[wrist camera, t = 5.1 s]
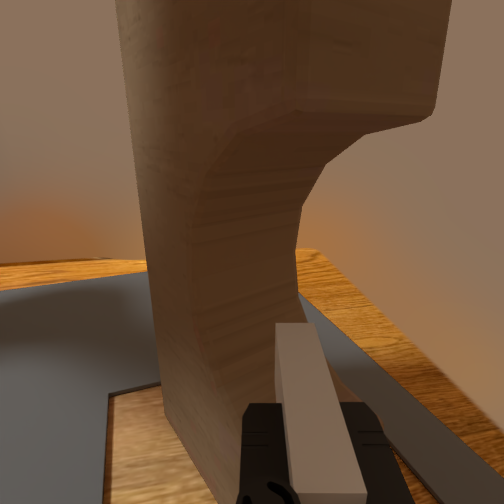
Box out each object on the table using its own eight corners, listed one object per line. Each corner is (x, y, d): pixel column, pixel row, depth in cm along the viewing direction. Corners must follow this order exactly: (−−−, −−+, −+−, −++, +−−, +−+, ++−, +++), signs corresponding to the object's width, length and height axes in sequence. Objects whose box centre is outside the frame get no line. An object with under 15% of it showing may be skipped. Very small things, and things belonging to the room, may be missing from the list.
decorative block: (373, 514, 21) (479, -134, 11) (279, 610, 17) (308, -298, 7) (238, 378, 32) (228, 6, 22) (163, 415, 28) (109, -22, 18)
